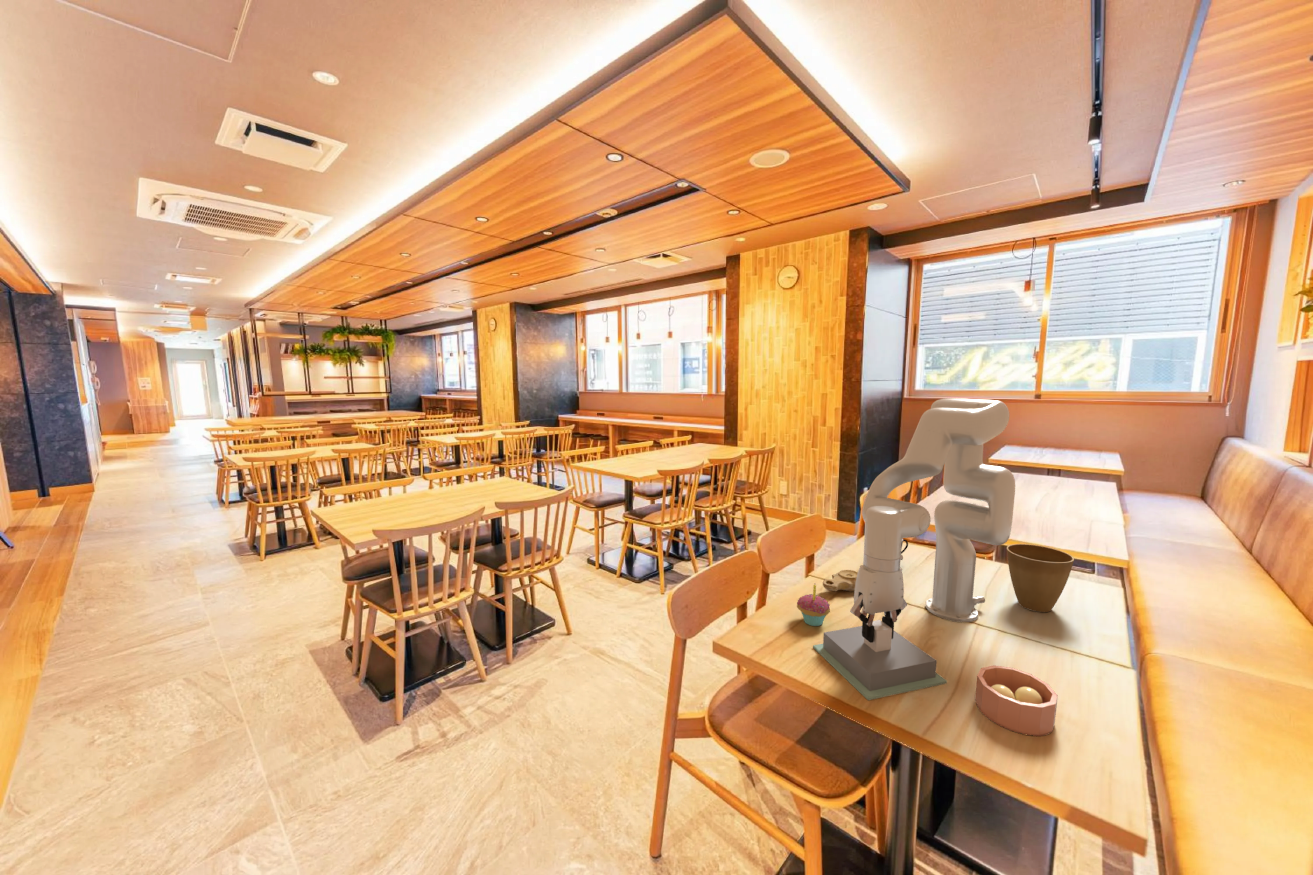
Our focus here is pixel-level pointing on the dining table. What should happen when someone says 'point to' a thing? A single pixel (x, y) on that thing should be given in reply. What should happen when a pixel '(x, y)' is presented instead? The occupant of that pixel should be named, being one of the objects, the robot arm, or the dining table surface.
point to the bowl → (1016, 700)
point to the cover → (879, 657)
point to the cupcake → (813, 608)
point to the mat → (880, 692)
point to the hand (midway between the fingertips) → (877, 636)
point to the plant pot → (1038, 575)
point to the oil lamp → (841, 581)
